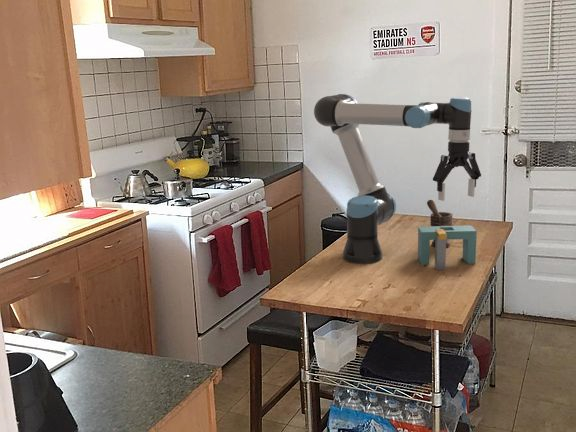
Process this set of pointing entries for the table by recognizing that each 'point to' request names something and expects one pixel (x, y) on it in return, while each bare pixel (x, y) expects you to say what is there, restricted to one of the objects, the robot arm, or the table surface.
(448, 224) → the mortar and pestle
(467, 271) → the table surface
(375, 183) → the robot arm
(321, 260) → the table surface
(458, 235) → the teal slotted arch
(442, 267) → the golden orange block
